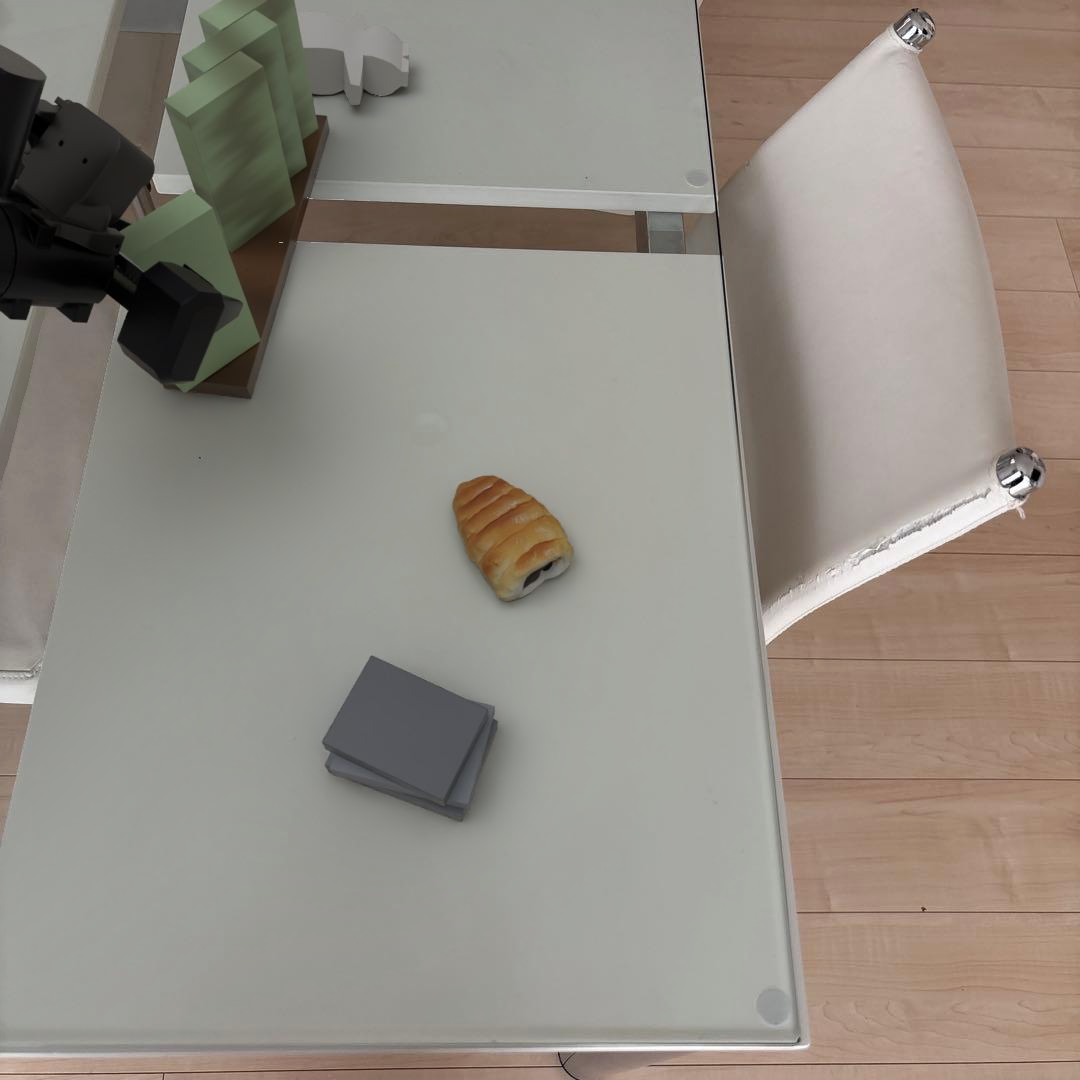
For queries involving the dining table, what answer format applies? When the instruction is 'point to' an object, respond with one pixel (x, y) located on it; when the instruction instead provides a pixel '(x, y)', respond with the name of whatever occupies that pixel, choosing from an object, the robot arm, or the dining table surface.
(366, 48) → the white curved block
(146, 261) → the green book
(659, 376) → the dining table surface
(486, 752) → the grey books
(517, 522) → the pastry
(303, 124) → the brown wooden book rack
